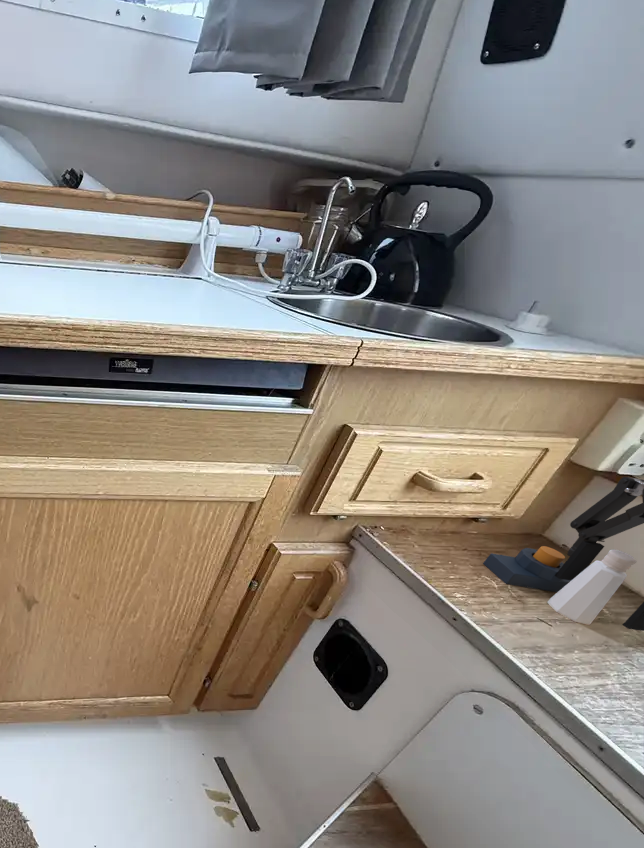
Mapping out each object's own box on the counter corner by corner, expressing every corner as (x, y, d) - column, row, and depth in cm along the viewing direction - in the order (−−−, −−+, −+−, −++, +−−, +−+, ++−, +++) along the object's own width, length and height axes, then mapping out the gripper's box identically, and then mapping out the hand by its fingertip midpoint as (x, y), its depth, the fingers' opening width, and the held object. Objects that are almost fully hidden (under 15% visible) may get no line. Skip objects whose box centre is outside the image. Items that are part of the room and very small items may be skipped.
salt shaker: (537, 599, 83) (589, 542, 78) (562, 598, 85) (615, 542, 79) (576, 626, 79) (634, 568, 73) (601, 624, 80) (660, 567, 75)
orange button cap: (544, 557, 87) (553, 547, 86) (561, 570, 85) (570, 559, 84) (527, 554, 87) (536, 544, 86) (542, 567, 85) (552, 556, 84)
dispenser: (548, 572, 91) (565, 554, 89) (580, 598, 86) (598, 578, 84) (480, 561, 90) (495, 542, 88) (508, 586, 85) (525, 566, 83)
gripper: (602, 425, 78) (510, 551, 88) (804, 509, 58) (654, 658, 69) (651, 432, 78) (554, 557, 89) (868, 518, 58) (709, 666, 69)
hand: (597, 601), depth 79 cm, fingers open, 10 cm apart
